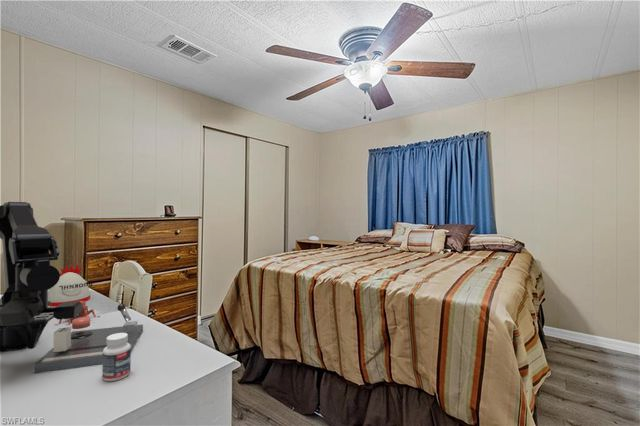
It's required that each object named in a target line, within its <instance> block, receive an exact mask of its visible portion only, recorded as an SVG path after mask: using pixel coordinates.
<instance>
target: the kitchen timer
mask: <svg viewBox="0 0 640 426" xmlns="http://www.w3.org/2000/svg"><path fill="white" fill-rule="evenodd" d="M78 266H79V265H78V263H76V265H75V267H74V268H73V265H72V264H70V266H68V264H66V265H65V268H64V269H63V268H62V267H61V268H60V270H61V273H60V278H59V281H58V283H57V284H56V285H55V286H53V287H52V288H50V289H49V290H48V301H50V305H49V306H48V307H57V306H58V305H60V304H62V303H63V302H75V301H85V302H87V301H89V300H91V291H90V288H89V285H88V286H86V284H85V287H84V283H88V281H87V280H86V279H84V278H83V276H81V275H80V273H81V271H82V270H83V269H82V268H83V266H81V267H80V268H79V267H78ZM81 283H82V284H83V287H79V284H81ZM73 284H74V288H72V287H71V289H69V285H71V286H72V285H73ZM75 284H76V285H77V284H78V288H77V287H76V288H75ZM82 284H81V285H80V286H82ZM67 285H68V289H67V288H65V289H64V286H65V287H67ZM59 286H63V290H62V287H59Z"/></svg>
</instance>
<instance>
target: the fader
mask: <svg viewBox="0 0 640 426" xmlns="http://www.w3.org/2000/svg"><path fill="white" fill-rule="evenodd" d="M71 332H72V326H68V327H67V326H66V327H59V328H58V329H56V330H55V331H53V348H54V352H61V351H66V350H67V349H68V348H69V347H70V346H71Z"/></svg>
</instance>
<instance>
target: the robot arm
mask: <svg viewBox="0 0 640 426" xmlns="http://www.w3.org/2000/svg"><path fill="white" fill-rule="evenodd" d="M0 239H1V241H2V254H3V265H4V267H3V268H4V277H5V291H4V293H3V294H2V296H1V297H0V352H3V351H4V352H5V351H12V350H22V349H26V348H27V349H28V350H33V349H35V347H36V346H37V344H38V342H39V340H40V338H41V336H42V333H43V331H44V329H45V328H46V326H47V325H48V324H49V322H50V321H51V320H52V319H54V318H55V319H56V320H58V321H59V320H60V319H62V320H68V319H70V318H74V317H75V318H76V317H77V316H79V313H81V312H82V303H81V302H80V301H75V302H63V303H62V304H60V305H58V306H57V307H52V306H49V305H50V301H48V291H49V289H50V288H52V287H53V286H55V285H56V284H57V283H58V281H59V278H60V274H61V273H60V271H59V270H58V269H57V268H56V267H55V266H53V265H51V261H57V260H59V255H60V251H59V250H60V249H59V247H58V243H57V240H56V239H55V237H54V236H53V235H52V234H51V233H50V231H48V229H47V228H46V227H41V226H39V225H38V223H37V221H36V220H35V217H34V208H33V207H32V204H31V203H30V202H26V201H7V202H4V203H3V204H2V205H0ZM75 318H74V319H75Z"/></svg>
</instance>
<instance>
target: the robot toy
mask: <svg viewBox="0 0 640 426" xmlns="http://www.w3.org/2000/svg"><path fill="white" fill-rule="evenodd" d="M88 282H89V283H88ZM88 282H87V283H84V287H85V284H86V286H88V287H92V286H93V280H90V281H89V280H88ZM81 284H82V283H81ZM81 284H79V287H83V284H82V286H80V285H81ZM59 287H62V290H63V286H59ZM71 287H72V288H74V284H73V285H72V286H71V285H69V289H71ZM76 287H77V288H78V284H77V285H76V284H75V288H76ZM65 288H67V289H68V285H67V287H65V286H64V289H65ZM80 302H81V303H82V312H81V313H79V314H78V316H80V317H88V316H89V315H90V314H91V313H92V316H93V317H94V318H100V316H101V315H97V316H96V314H95V311H94V308H93V309H89V308H88V305H86V301H80ZM74 319H76V316H75V317H74V318H70V319H69V320H68V323H66V324H65V325H66V326H70V325H71V324H72V320H74ZM62 320H63V319H59V320H58V321H59V322H58V323H57V324H56V323H55V324H53V325H54V326H58V325H60V324H61V323H62ZM91 321H92V319H90V322H91Z"/></svg>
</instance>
